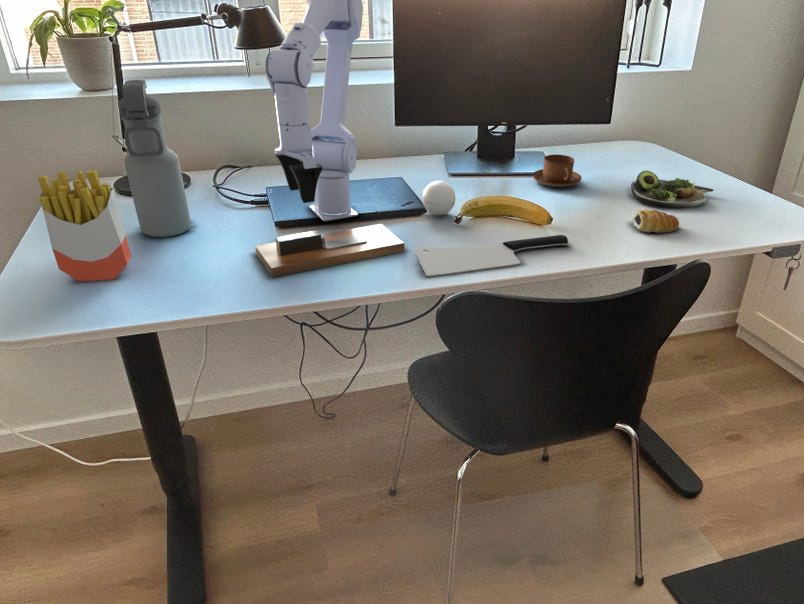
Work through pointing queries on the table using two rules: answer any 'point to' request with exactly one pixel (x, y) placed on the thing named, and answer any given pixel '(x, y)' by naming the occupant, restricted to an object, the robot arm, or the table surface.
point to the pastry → (655, 221)
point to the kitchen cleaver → (480, 255)
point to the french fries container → (84, 227)
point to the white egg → (438, 198)
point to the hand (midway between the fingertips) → (301, 195)
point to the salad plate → (667, 191)
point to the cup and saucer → (557, 172)
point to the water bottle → (152, 165)
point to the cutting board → (331, 251)
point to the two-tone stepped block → (312, 242)
